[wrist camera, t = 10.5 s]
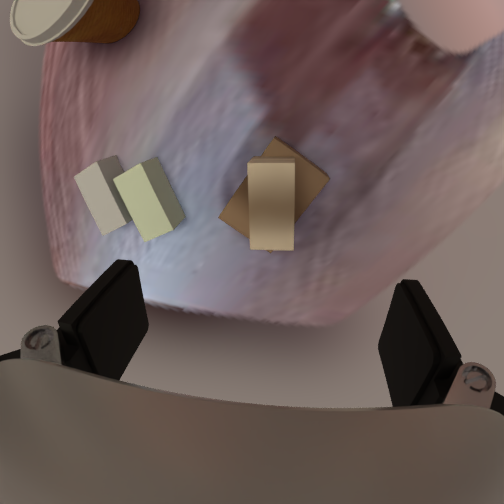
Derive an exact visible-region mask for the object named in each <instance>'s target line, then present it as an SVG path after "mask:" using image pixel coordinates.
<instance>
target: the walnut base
mask: <svg viewBox="0 0 504 504" xmlns="http://www.w3.org/2000/svg"><path fill="white" fill-rule="evenodd" d="M261 156H287V157H294V158H295V206H294V224H295V222H296V221H297V220H298V219H299V217H300V216H301V215H302V214H303V212H304V211H305V210H306V209H307V207H308V206H309V205H310V204H311V202H312V201H313V200H314V198H315V197H316V196H317V195H318V193H319V192H320V191H321V190H322V188H323V187H324V186H325V185H326V183H327V182H328V181H329V179H330V178H329V176H328V175H327V173H325V172H324V171H323V170H321V169H320V168H319V167H317V166H316V165H315V164H313V163H312V162H311V161H309V160H308V159H307V158H305V157H304V156H303V155H301V154H300V153H299V152H297V151H296V150H294V149H293V148H292V147H290V146H289V145H287V144H286V143H285V142H283V141H282V140H280V139H279V138H277V137H276V136H275V137H274V139H273V140H272V141H271V143H270V144H269V145H268V147H267V148H266V150H265V151H264V152H263V154H262V155H261ZM218 218H219V219H221V220H222V221H224V222H225V223H227V224H228V225H230V226H231V227H232V228H234V229H235V230H237V231H238V232H240V233H241V234H243V235H244V236H246V237H247V238H249V239H250V229H249V198H248V175H247V176H246V178H245V179H244V181H243V182H242V184H241V185H240V186H239V188H238V189H237V191H236V192H235V194H234V195H233V197H232V198H231V199H230V201H229V202H228V204H227V205H226V207H225V208H224V210H223V211H222V213H221V214H220V216H219V217H218ZM266 251H268V252H269V253H271V252H272V251H273V250H266Z"/></svg>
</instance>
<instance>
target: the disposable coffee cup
mask: <svg viewBox="0 0 504 504" xmlns="http://www.w3.org/2000/svg"><path fill="white" fill-rule="evenodd" d="M139 13H140V7H139V3H138V1H137V0H14V2H13V5H12V8H11V13H10V25H11V29H12V32H13V33H14V35H15V36H16V37H18V38H20V40H21V41H22V42H23V43H25V44H27V45H30V46H39V45H44V44H46V43H49V42H59V41H60V42H63V41H64V42H95V43H113V42H116V41H118V40H120V39H122V38H123V37H125V36H126V35H127V34H128V33H129V32H130V31H131V30H132V29H133V27H134V26H135V24H136V22H137V20H138V17H139Z"/></svg>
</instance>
